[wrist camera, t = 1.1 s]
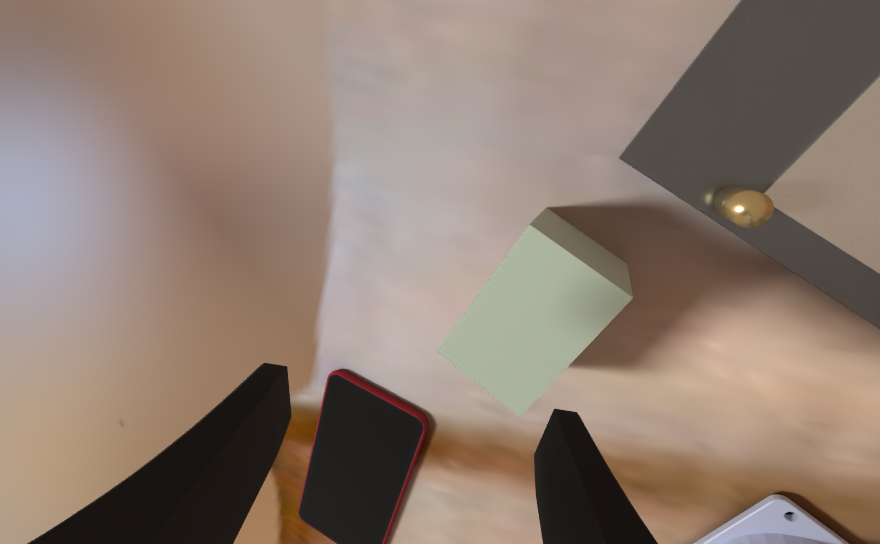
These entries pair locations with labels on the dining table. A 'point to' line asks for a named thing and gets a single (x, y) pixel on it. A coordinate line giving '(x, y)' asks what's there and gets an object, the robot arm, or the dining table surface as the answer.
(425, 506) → the dining table surface
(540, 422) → the dining table surface
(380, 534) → the smartphone
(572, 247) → the board block
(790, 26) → the chassis
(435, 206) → the dining table surface
